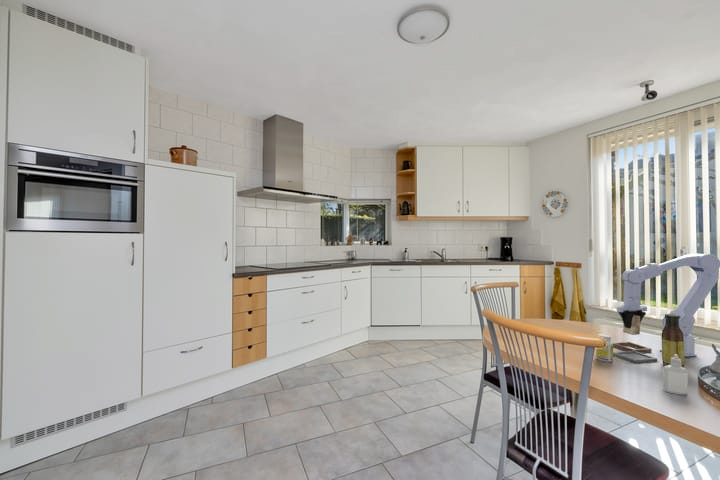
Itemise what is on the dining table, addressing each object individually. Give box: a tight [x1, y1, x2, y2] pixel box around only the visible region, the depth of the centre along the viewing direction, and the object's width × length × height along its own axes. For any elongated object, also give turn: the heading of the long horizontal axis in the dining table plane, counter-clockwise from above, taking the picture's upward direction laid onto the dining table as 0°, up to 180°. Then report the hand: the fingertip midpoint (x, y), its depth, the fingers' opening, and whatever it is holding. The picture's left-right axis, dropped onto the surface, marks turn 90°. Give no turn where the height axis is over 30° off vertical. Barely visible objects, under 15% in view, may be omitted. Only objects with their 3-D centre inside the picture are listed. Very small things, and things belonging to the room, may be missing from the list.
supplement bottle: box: [595, 333, 614, 363], centre depth 130 cm, size 5×5×10 cm
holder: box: [612, 341, 653, 354], centre depth 143 cm, size 10×10×2 cm
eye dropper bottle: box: [662, 354, 689, 396], centre depth 102 cm, size 4×6×12 cm
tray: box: [613, 350, 658, 364], centre depth 132 cm, size 11×9×1 cm
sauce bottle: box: [661, 313, 685, 368], centre depth 124 cm, size 7×6×20 cm
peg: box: [622, 315, 641, 336], centre depth 143 cm, size 4×4×8 cm
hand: (631, 327), depth 143 cm, fingers closed on peg, 4 cm apart
